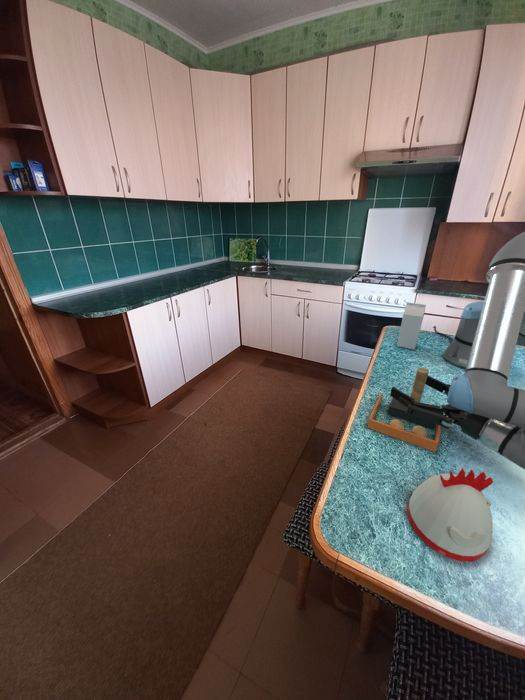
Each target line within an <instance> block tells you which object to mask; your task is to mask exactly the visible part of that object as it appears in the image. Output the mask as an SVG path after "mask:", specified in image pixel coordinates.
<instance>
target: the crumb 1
mask: <svg viewBox="0 0 525 700" xmlns="http://www.w3.org/2000/svg"><path fill="white" fill-rule="evenodd" d="M388 425H390V426H393V427H396V428H399V429H402V430H404V428H405V425H404V423H403V421H402V420H400V419H398V418H394V419H392V420H391V421H390V422H389V424H388Z"/></svg>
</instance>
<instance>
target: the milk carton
mask: <svg viewBox="0 0 525 700" xmlns="http://www.w3.org/2000/svg"><path fill="white" fill-rule="evenodd" d="M426 306H427V305H426V304H422V303H415V302H408V301H407V302H406V304H405V307H404V311H403V314H402V319H401V323H400V327H399V331H398V337H397V342H396V347H400V348H405V349H408V350H409V349H410V350H415V349H416V346H417V344H418V340H419V336H420V332H421V329H422V324H423V320H424V316H425V313H426Z"/></svg>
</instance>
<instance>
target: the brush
mask: <svg viewBox="0 0 525 700" xmlns="http://www.w3.org/2000/svg"><path fill="white" fill-rule="evenodd" d="M429 371H430V370H428V369H427V368H425V367H418V368H417V369H416V373H415V377H414V379H413V384H412V389H411V392H410V397H412V398H413V399H414V401H415V402H420V403H421V400H422V397H423V394H424V390H425V387H426V380H427V377H428V376H429V373H430V372H429ZM416 407H417V406H416ZM407 409H408V408H407V407H406V406H404V405H403V404H401V403H399V402H398V400H396V399H395V398H393V397H391V401H390V403H389V405H388V410H387V415H390V416H393V417H396V418H399V419H402V420H405V421H409V422H410V423H414V424H417V425H419V426H422V427H426V428H429V429H434V425H435V424H434V423H431V422H428V421H425V420H422V419H419V418H416V417H413V416H410V415H408V414H407Z"/></svg>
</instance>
